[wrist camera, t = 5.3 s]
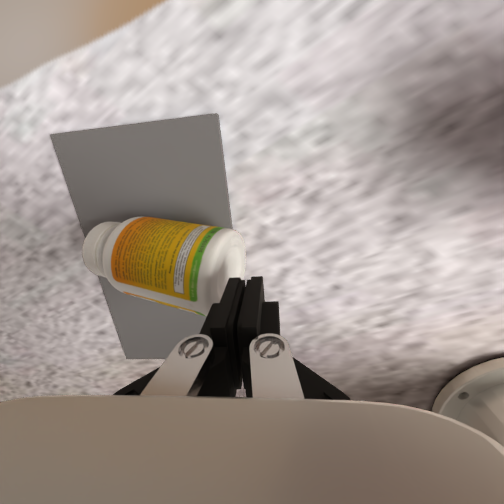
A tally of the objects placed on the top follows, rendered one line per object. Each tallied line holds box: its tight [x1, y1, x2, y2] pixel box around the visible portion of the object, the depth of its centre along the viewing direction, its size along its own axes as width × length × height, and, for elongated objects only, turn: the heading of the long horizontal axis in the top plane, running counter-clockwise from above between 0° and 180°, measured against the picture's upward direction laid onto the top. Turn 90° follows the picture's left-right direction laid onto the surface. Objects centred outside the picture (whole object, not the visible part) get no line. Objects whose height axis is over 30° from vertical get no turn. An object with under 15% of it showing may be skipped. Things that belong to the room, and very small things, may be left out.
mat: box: [50, 113, 233, 359], centre depth 20 cm, size 20×12×1 cm, turn 5°
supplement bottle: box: [82, 216, 246, 316], centre depth 16 cm, size 5×5×10 cm
